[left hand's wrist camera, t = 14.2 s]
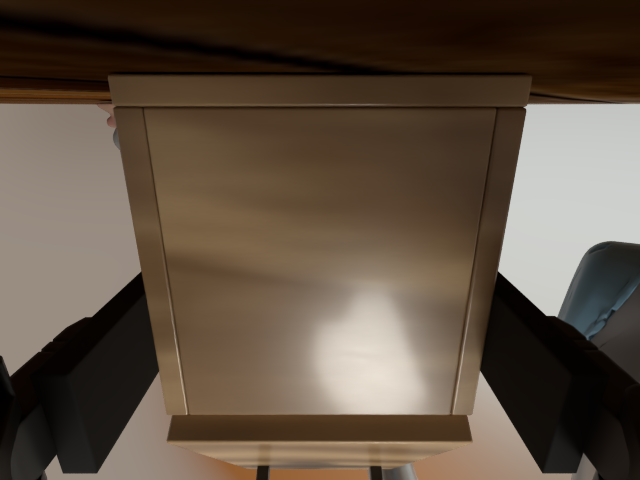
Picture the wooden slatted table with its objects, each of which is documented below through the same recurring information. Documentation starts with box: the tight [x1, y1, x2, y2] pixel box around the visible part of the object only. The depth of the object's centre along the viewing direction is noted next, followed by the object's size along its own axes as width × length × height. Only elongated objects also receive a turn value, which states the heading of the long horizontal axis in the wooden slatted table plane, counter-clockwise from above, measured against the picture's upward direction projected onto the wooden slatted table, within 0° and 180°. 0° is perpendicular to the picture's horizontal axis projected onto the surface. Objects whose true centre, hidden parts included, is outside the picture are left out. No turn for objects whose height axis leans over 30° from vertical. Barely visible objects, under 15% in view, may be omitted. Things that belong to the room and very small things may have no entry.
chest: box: [108, 74, 532, 415], centre depth 17 cm, size 15×10×10 cm, turn 0°
